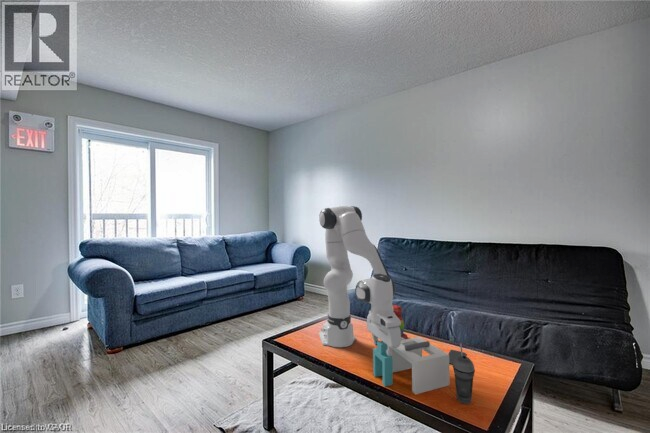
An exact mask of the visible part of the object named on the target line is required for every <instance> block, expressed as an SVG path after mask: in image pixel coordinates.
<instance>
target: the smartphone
mask: <svg viewBox="0 0 650 433" xmlns="http://www.w3.org/2000/svg"><path fill="white" fill-rule="evenodd" d="M462 353H463V356H466V357H467V353H466V352H465V351H462ZM448 354H449V365H451V366H453V362H454V360H455V359H456V357H458V356H461V350H460V351H459V350H455V349H450V350H449V352H448Z"/></svg>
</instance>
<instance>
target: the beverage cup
mask: <svg viewBox="0 0 650 433" xmlns="http://www.w3.org/2000/svg"><path fill="white" fill-rule="evenodd" d="M459 347H460V352H461V356H458V357H456V359H455V360H454V362H453V365H452V368H453V373H454V383H455V392H456V400H457V401H458V403H461V404H463V405H464V404H465V405H469V404H471V402H472V396H473V388H474V387H473V384H474V376H475V372H476V368H475V364H474V362H473V361H472V360H471V359H470V358H469V357H468V356H467V355H466V356H463V353H462V352H463V345H462V342H460V343H459Z"/></svg>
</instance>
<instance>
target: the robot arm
mask: <svg viewBox="0 0 650 433" xmlns="http://www.w3.org/2000/svg"><path fill="white" fill-rule="evenodd" d="M318 216H319V220H318V221H319V224H320V226H321V227H322V228H323V229H325V231H324V232H325V233H324V234H325V235H324V236H325V252H326V258H327V259H328V262H329V266H330V270H329V271H328V272H327V273H326V274H325V276H324V278H323V286H324V288H325V289H326V294H327V299H328V313H327V320H326V321H325V322H324V323H323V324H322V327H321V328H320V329H321V330H320V331H319V332H318V336H319V339H320V341H321V344H322V346H328V347H333V348H347V347H349V346H352V345H353V343H354V342H355V341H356V340H357V337H356V336H355V335H354V326H353V323H352V317H351V314H350V313H351V310H350V308H351V304H350V303H351V302H350V301H351V300H350V299H349V296H348V285H350V283H351V282H352V280H353V276H354V274H353V270H352V268H351V264H350V260H349V256H348V252H349V253H351V254H354V255H356V256H360V257H362V258H364V259H366V260H367V261H368V262H369V264H370V266H371V268H372V271H373V273H374V274H372V275H371V277H368V278H366V279H362V280H359V281H358V282H357V283H356V285H355V291H354V292H355V297H356V299H358V300H359V302H361V303H363V304H370V305H371V306H370V309H369V310H368V315H367V317H366V329H367V331H368V332H369V333H370V334H371V337H372V340H373V345H374V346H376V347H377V342H379V341H383V342H384V343H386V344H387V347H388V349H387V350H386V354H387V355H388V356H390V355H392V350H393V348H397V347H399V346H400V344H401V331H400V327H399V326H400V325H401V321H400V319H399V318H398V317H397V316H396V315H395V313H394V312H393V305H394V304H393V300H394V297H395V294H396V290H397V289H396V288H397V287H396V284H395V282H394V280H393V279H392V277H391V275H390V274H389V271H388V269H387V268H386V265H385V262H384V261H383V259H382V258H383V257H382V256H381V254H380V252H379V250H378V248H377V246H376V245H375V244H373V243H372V242H371V240H370V239H369V237H368V236H367V233H366V229H365V227H364V224H363V222H362V220H363V213H362V211H361V209H360V207H357V206H354V205H350V206H347V205H342V206H341V205H339V206H335V207H326V208H323V209H321V210H320V213H319V215H318Z"/></svg>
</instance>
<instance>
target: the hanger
mask: <svg viewBox="0 0 650 433" xmlns="http://www.w3.org/2000/svg"><path fill="white" fill-rule="evenodd" d="M387 349H388V347H387V344H386V343H384V342H383V341H382V340H379V342H377V346H376V347H375V348H372V368H373V369H372V372H373V373H372V374H373V375H372V376H374V377H375V378H377V377H381V376H382V386H384V387H388V386H392V385H393V383H394V382H393V380H394V379H393V373H394V372H393V361H392V356H391V355H390V356H388V355H387V354H386V350H387Z"/></svg>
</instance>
